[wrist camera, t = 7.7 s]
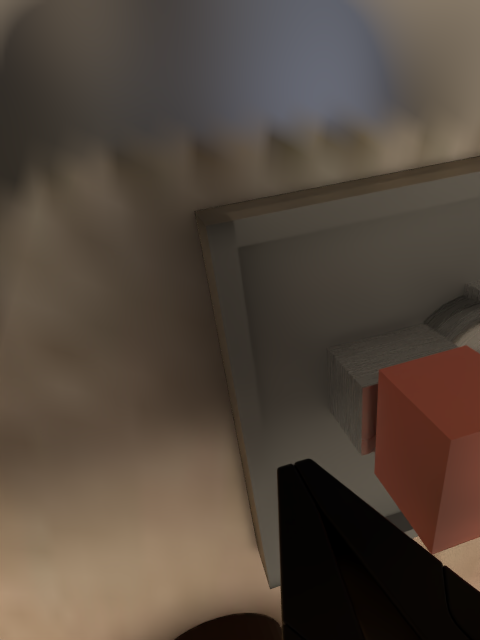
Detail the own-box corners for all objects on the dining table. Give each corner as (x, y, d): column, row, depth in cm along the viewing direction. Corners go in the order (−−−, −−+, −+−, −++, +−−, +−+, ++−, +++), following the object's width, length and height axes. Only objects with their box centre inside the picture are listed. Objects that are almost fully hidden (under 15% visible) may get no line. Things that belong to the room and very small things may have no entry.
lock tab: (466, 345, 10) (559, 405, 8) (448, 449, 11) (520, 521, 9) (378, 369, 9) (450, 440, 7) (374, 473, 11) (431, 554, 9)
